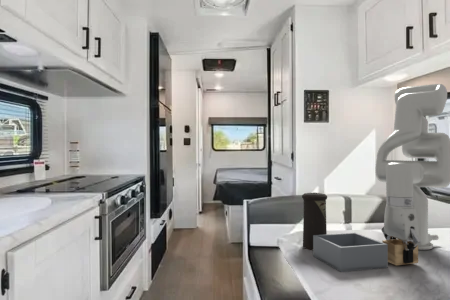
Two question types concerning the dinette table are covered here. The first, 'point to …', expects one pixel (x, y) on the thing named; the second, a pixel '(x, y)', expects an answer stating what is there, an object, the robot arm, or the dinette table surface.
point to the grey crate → (350, 251)
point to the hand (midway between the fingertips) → (400, 258)
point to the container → (313, 217)
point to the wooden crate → (398, 252)
